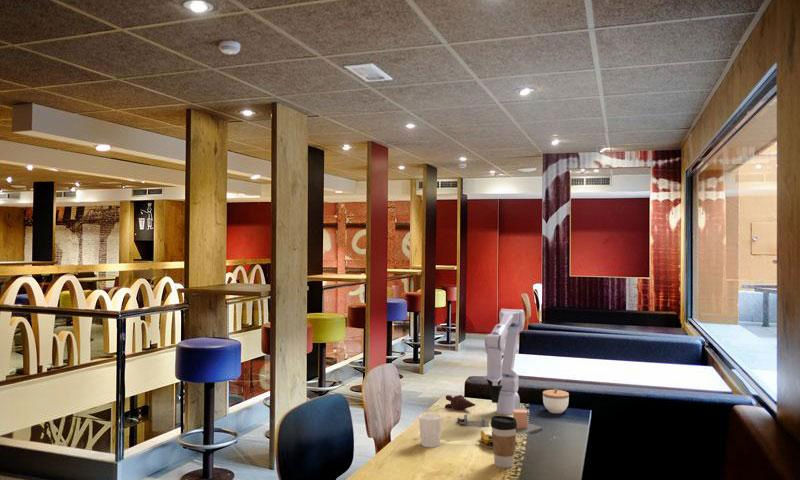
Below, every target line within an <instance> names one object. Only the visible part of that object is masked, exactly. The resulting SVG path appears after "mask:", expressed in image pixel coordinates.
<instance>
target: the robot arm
mask: <svg viewBox="0 0 800 480" xmlns="http://www.w3.org/2000/svg"><path fill="white" fill-rule="evenodd" d="M498 318H499V323H497V324H496V325H494V327H493V329H492V331H491V333H488V334H486V335H485V338H484V348H485V354H486V375H484V376H483V378H484V379H486V382H487V383H486V384H487V387H488V389H489V393H490V399H491V403H492V404H493V403H494V404H496V413H497V414H499V415H502V416H509V415H513V409H520V410H521V407H520V406H521V402H520V401H521V399H520V395H519V393H518V391H519V383H520V382H519V381H520V379H519V375H518V373H517V372H516V371H515V370H514V366H515V359H516V354H517V346H518V342H519V341H518V339H519V335H520V333H521V332H523V331H524V328H525V321H526V312H525V311H524V309H513V308H511V309H509V308H501V309H500V310H499V317H498ZM505 339H506V340H505ZM503 350H504V351H503Z"/></svg>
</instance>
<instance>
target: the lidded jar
mask: <svg viewBox="0 0 800 480" xmlns="http://www.w3.org/2000/svg"><path fill="white" fill-rule="evenodd" d="M569 396H570V393H569V392H567V391H565V390H561V389H557V388H554V389H546V390H543V391H542V401H543V402H542V403H543V405H544V407H545V408H546V410H547V411H548V412H549V413H551V414H563V413H564V411H565V410H566V409H567V408H568V406H569V401H570V400H569V399H570V397H569Z"/></svg>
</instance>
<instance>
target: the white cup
mask: <svg viewBox="0 0 800 480" xmlns="http://www.w3.org/2000/svg"><path fill="white" fill-rule="evenodd" d="M418 419H419V421H418V422H419V423H418V424H419V438H420V445H421V446H422V447H424V448H429V449H430V448H437V447H439V446H440V444H441V434H442V415H441V414H439V413H435V412H425V413H421V414H419V416H418Z"/></svg>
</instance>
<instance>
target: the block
mask: <svg viewBox="0 0 800 480" xmlns="http://www.w3.org/2000/svg"><path fill="white" fill-rule="evenodd" d="M512 417H513V418H515V419H516V422H517V428H523V429H527V423H528V411H527V409H521V408H520V409H513V414H512Z"/></svg>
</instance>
